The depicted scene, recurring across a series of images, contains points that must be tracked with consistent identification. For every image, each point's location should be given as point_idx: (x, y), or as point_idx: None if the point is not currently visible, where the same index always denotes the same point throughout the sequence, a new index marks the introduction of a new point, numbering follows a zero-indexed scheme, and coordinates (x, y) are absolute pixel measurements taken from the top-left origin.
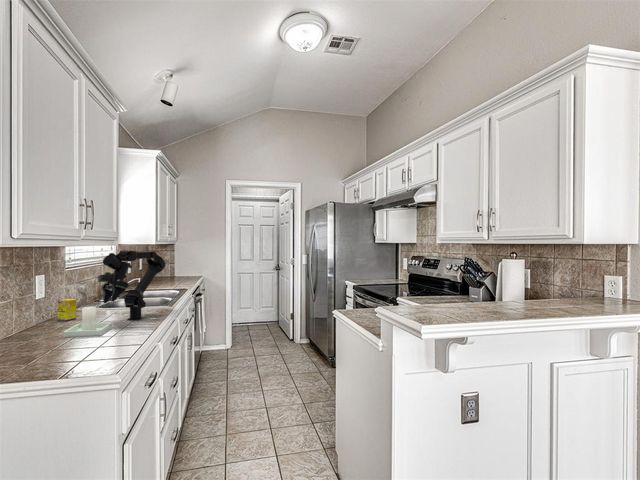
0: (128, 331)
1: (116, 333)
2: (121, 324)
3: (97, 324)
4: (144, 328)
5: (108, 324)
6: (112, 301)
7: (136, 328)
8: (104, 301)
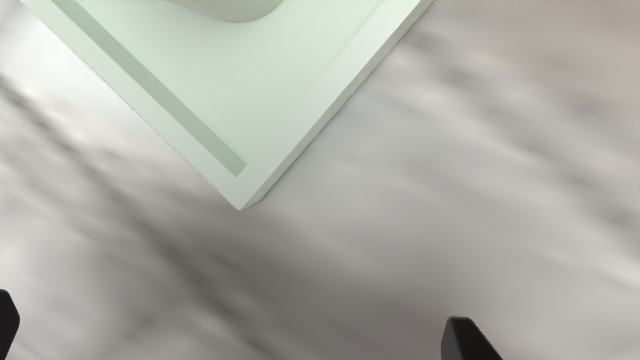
0: (36, 217)
1: (37, 120)
2: (335, 332)
3: (319, 81)
4: (45, 349)
5: (184, 143)
6: (9, 306)
7: (86, 314)
8: (452, 343)
